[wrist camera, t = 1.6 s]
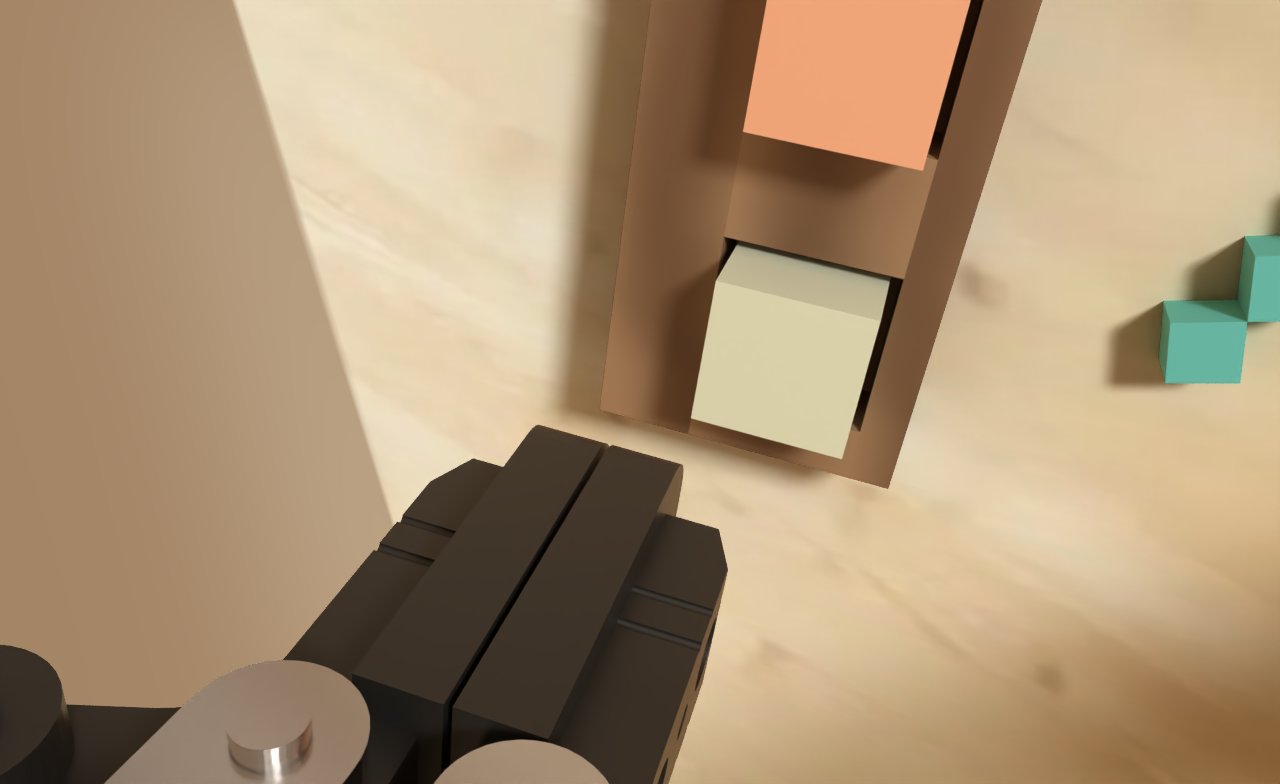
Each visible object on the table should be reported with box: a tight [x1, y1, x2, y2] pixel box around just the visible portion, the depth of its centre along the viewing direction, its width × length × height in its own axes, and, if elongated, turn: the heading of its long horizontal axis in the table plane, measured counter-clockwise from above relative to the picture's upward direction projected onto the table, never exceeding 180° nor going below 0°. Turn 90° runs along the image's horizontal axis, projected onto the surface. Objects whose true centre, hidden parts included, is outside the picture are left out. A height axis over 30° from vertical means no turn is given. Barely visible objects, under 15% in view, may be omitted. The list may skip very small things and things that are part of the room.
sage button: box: [691, 240, 891, 459], centre depth 35 cm, size 5×5×4 cm
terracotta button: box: [743, 0, 971, 171], centre depth 30 cm, size 5×5×4 cm
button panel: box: [600, 0, 1042, 489], centre depth 32 cm, size 11×30×4 cm, turn 172°
